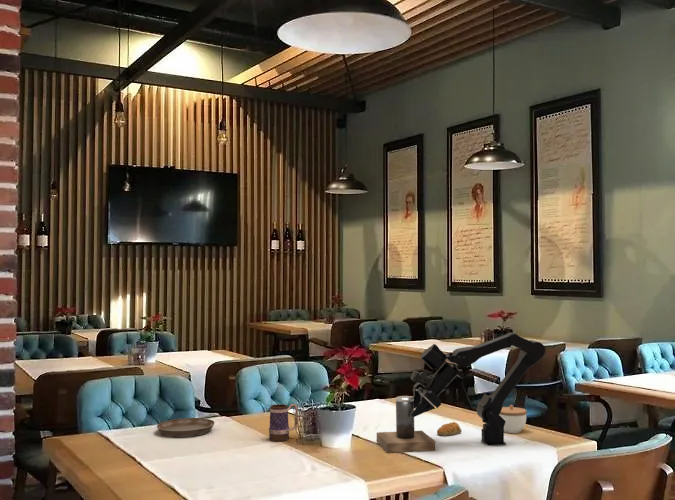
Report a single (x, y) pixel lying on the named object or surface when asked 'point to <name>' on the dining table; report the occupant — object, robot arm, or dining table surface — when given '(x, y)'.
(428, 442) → the block
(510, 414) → the lidded jar
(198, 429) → the plant saucer
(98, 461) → the dining table surface
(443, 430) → the pastry
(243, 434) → the dining table surface
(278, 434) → the mug
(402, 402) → the canister
